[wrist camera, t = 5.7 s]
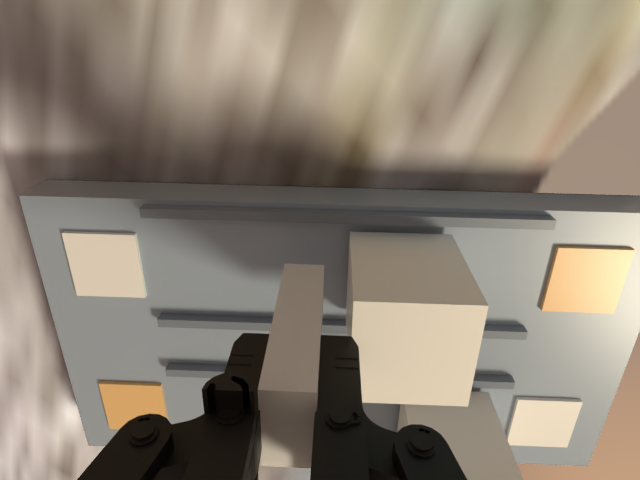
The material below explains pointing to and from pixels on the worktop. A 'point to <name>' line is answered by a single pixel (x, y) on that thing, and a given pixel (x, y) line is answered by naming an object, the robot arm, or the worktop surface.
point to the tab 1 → (413, 318)
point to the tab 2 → (469, 436)
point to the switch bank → (333, 292)
